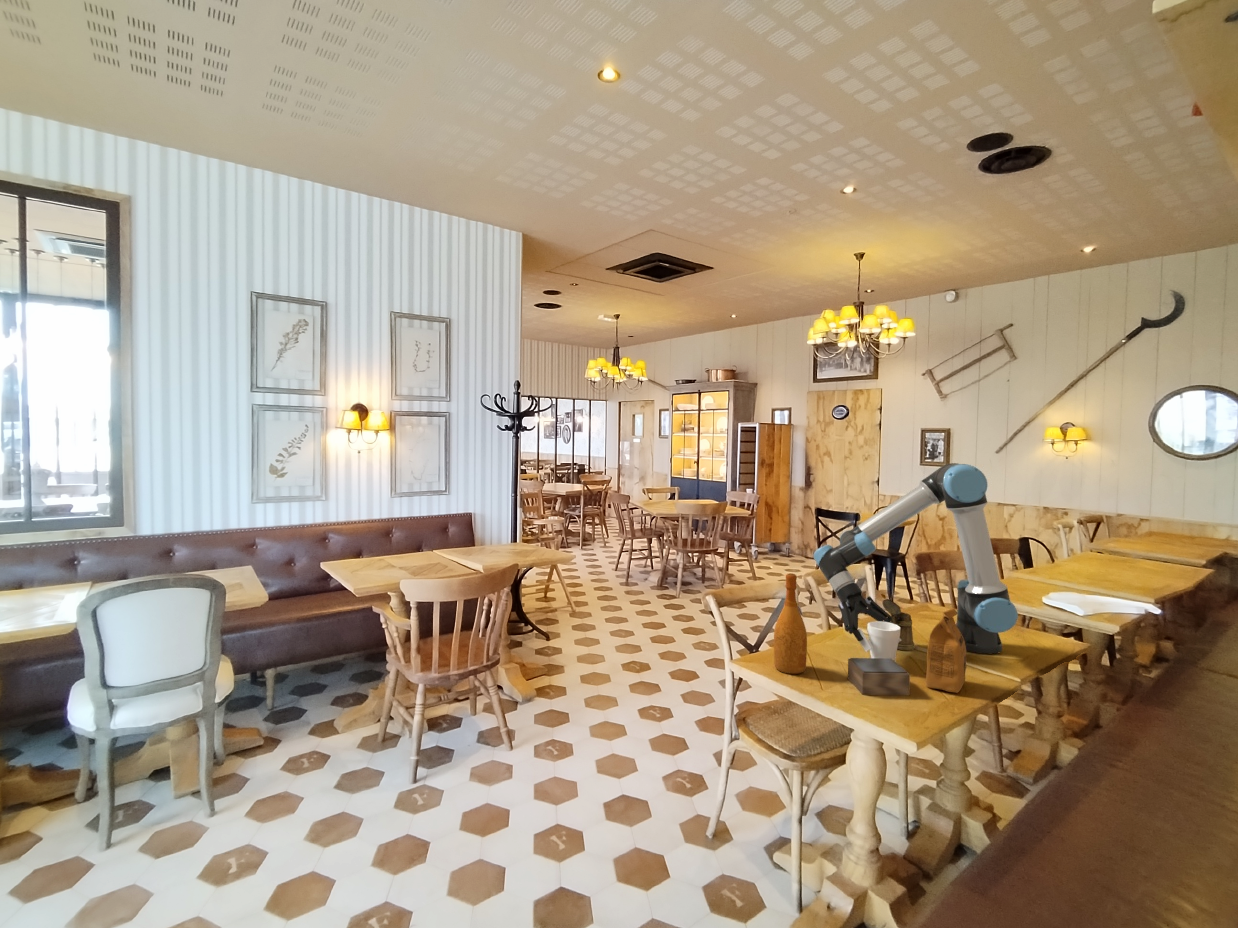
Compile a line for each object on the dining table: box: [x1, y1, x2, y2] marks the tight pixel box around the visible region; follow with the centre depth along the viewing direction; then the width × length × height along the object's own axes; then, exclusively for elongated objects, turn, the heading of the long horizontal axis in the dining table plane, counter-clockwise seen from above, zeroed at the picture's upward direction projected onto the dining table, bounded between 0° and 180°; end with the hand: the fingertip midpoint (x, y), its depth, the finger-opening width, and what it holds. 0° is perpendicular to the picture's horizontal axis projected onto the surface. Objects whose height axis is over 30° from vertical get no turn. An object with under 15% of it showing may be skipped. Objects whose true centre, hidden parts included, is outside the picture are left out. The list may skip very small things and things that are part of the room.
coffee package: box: [925, 607, 967, 693], centre depth 167 cm, size 10×12×22 cm
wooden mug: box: [882, 598, 915, 652], centre depth 198 cm, size 9×14×18 cm, turn 126°
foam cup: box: [866, 620, 900, 662], centre depth 181 cm, size 10×9×13 cm
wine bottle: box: [773, 572, 808, 675], centre depth 179 cm, size 10×10×30 cm
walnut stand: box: [847, 657, 911, 696], centre depth 167 cm, size 13×11×6 cm
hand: (884, 646), depth 181 cm, fingers open, 13 cm apart
